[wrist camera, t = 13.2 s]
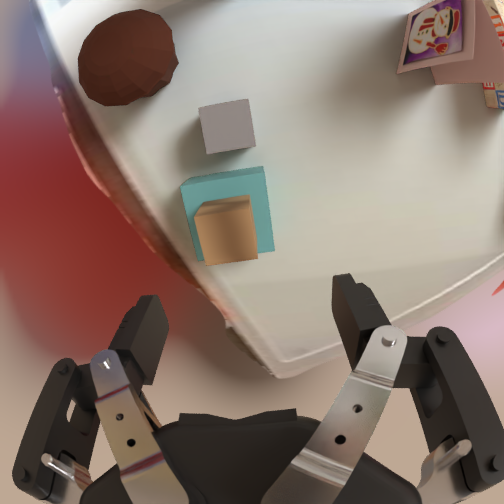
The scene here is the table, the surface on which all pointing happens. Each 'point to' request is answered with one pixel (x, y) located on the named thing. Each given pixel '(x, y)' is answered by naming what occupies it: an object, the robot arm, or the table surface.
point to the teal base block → (226, 187)
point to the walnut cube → (227, 230)
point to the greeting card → (453, 43)
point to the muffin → (127, 58)
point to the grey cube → (227, 126)
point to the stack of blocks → (500, 10)
